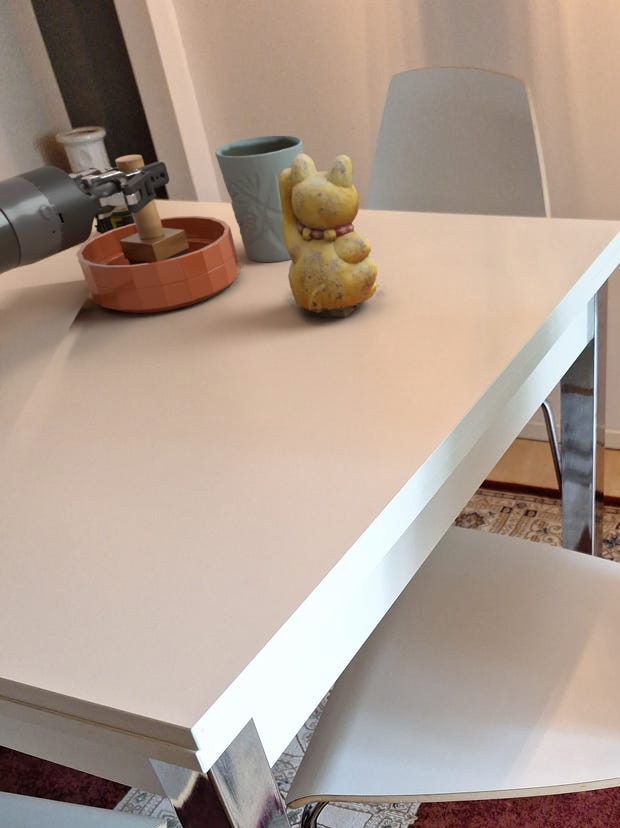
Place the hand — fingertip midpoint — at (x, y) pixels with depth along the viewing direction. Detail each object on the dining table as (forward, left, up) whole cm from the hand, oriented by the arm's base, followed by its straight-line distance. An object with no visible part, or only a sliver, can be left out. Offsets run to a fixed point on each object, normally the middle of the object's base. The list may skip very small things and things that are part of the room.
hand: (153, 171), depth 102 cm
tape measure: (-11, +22, -12) cm, 27 cm away
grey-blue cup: (+11, +7, -12) cm, 18 cm away
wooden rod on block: (-2, -2, -10) cm, 10 cm away
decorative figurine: (+18, -16, -12) cm, 27 cm away
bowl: (-2, -2, -12) cm, 12 cm away
